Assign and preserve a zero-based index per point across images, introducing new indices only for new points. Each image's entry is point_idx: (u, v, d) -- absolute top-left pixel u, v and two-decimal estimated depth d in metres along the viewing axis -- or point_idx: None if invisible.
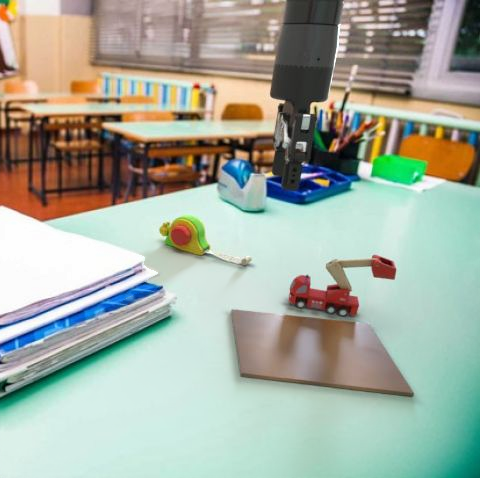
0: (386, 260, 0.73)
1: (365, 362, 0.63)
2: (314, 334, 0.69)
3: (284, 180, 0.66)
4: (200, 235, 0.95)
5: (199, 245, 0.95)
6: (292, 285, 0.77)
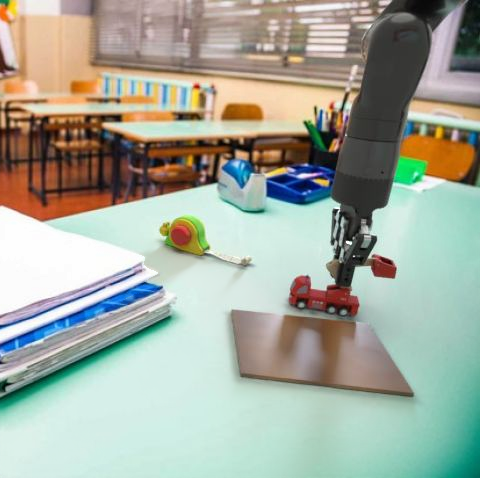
0: (386, 259, 0.73)
1: (365, 362, 0.63)
2: (314, 334, 0.69)
3: (338, 277, 0.73)
4: (200, 235, 0.95)
5: (199, 245, 0.95)
6: (293, 286, 0.77)
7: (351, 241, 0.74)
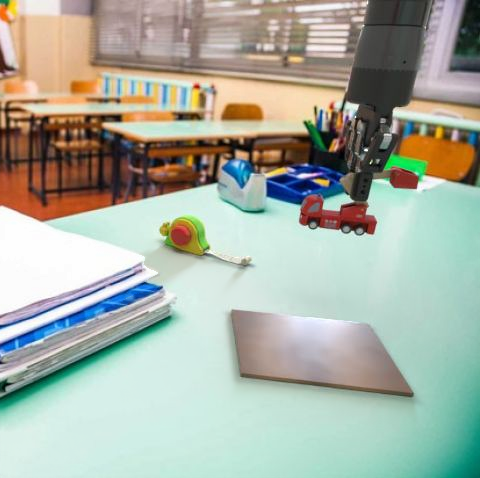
0: (406, 171, 0.67)
1: (365, 362, 0.63)
2: (314, 334, 0.69)
3: (353, 191, 0.66)
4: (200, 235, 0.95)
5: (199, 245, 0.95)
6: (303, 205, 0.70)
7: None
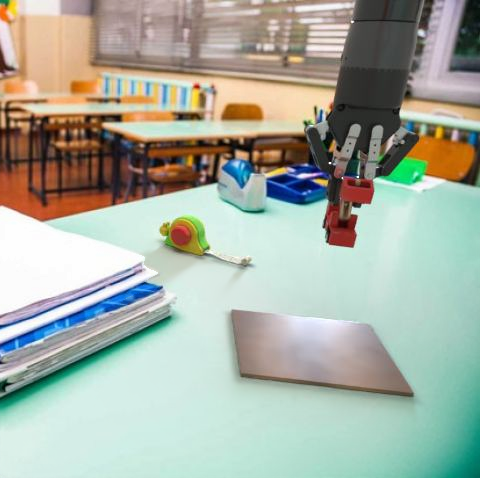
0: (370, 187, 0.57)
1: (365, 362, 0.63)
2: (314, 334, 0.69)
3: None
4: (200, 235, 0.95)
5: (199, 245, 0.95)
6: None
7: (365, 160, 0.61)
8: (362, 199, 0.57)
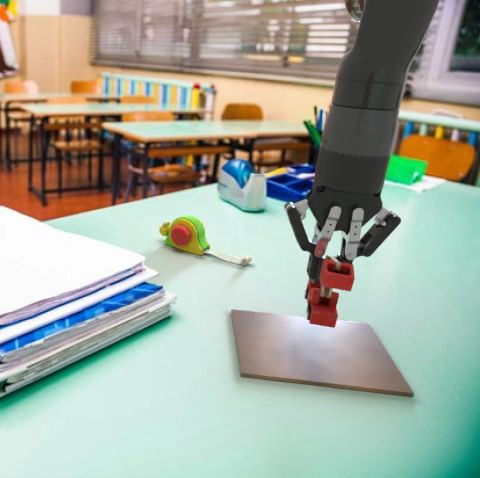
0: (350, 273, 0.56)
1: (365, 362, 0.63)
2: (314, 334, 0.69)
3: None
4: (200, 235, 0.95)
5: (199, 245, 0.95)
6: None
7: (346, 240, 0.60)
8: (342, 286, 0.55)
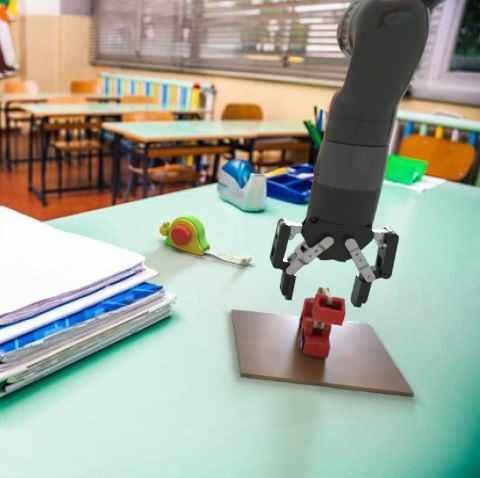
0: (341, 308, 0.57)
1: (365, 362, 0.63)
2: None
3: None
4: (200, 235, 0.95)
5: (199, 245, 0.95)
6: None
7: (357, 266, 0.61)
8: (333, 321, 0.57)
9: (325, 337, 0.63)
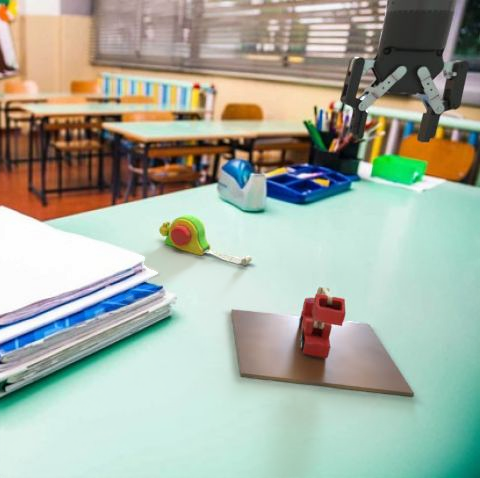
0: (341, 308, 0.57)
1: (365, 362, 0.63)
2: None
3: None
4: (200, 235, 0.95)
5: (199, 245, 0.95)
6: None
7: (427, 99, 0.64)
8: (333, 321, 0.57)
9: (325, 337, 0.63)
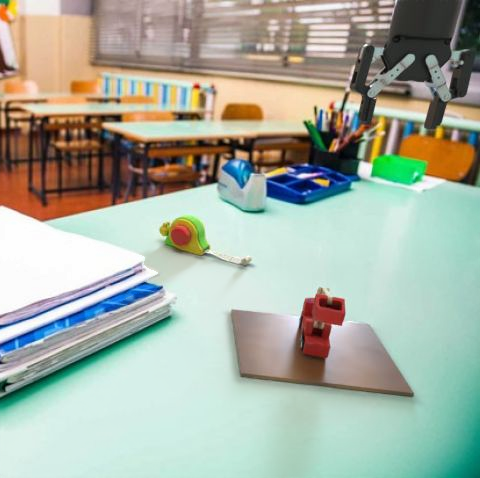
0: (341, 308, 0.57)
1: (365, 362, 0.63)
2: None
3: None
4: (200, 235, 0.95)
5: (199, 245, 0.95)
6: None
7: (434, 87, 0.66)
8: (333, 321, 0.57)
9: (325, 337, 0.63)
